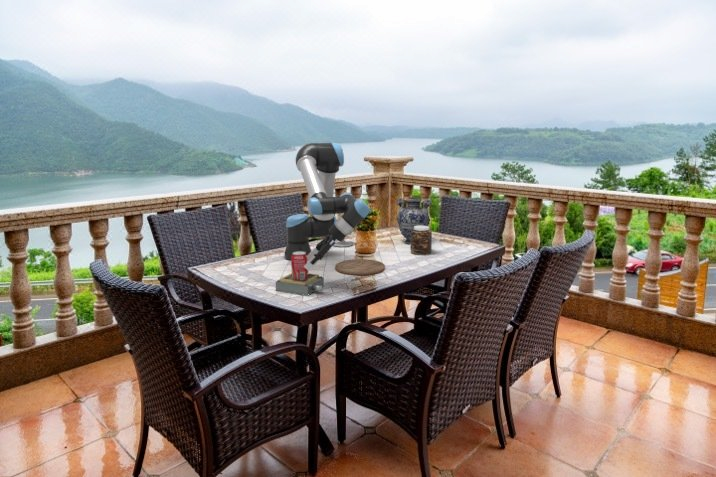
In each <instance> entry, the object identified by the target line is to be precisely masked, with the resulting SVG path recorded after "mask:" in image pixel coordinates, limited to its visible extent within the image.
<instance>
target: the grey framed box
mask: <svg viewBox="0 0 716 477" xmlns="http://www.w3.org/2000/svg"><path fill="white" fill-rule="evenodd" d="M324 279H325V278H324V276H321V275H320V274H316V273H309V272H308V278H307V279H306V280H304V281H295V280H294V279H292V272H291V273H289V274H288V275H285V276H283V277H281V278H280V279H277V281H275V291H277V292H282V291H283V292H284V293H288V292H290V293H289V294H294V293H298V294H297V295H301V294H304V295H303V296H307V295H308V294H310V293H311V294H313V293H314V291H315V292H323V291H324V287H325V280H324ZM312 292H313V293H312ZM311 294H310V295H311ZM308 296H309V295H308Z"/></svg>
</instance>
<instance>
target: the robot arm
mask: <svg viewBox="0 0 716 477" xmlns="http://www.w3.org/2000/svg"><path fill="white" fill-rule="evenodd" d="M343 150H344V149H343V148H342V146H341V144H340V143H338V142H319V143H318V142H309V143H306V144H304V145H303V146H301V148H300V149H299V150H298V151H297V153H296V156H295V165H296V168H297V170H298V171H299V172H300V173H301V176H302V179H303V183H304V185H305V188H306V191H307V193H308V196H309V198H308V199H307V200H308V201H307V211H308V213H298V214H293V215H291V216H288V217H287V219H286V224H285V228H286V247H285V251H284V255H283V256H284V259H285V260H287V261H288V260H289V261H291V257H292V255H293V252H297V251H303V252H306V255H307V259H308V263H307V264H306V265H305V266H304V267H305V268H306V269H307V270H308V272H309V271H310V270H311V269H312V268H314V266H315V265H316V264H317V263H318V262H319V261H322V259H323V258H324V257H325V256H326V254H327V253H328V252H329V251H330V249H332V247H333V246H334V244H335V243H336V240H337V242H341V241H342V240H343V239H344V240H345V239H346V237H347V236H349V235H350V234H351V233H350V231H351V232H352V233H353V232H354V230H355V228H356V227H357V226H358V225H359V224H360V223H362V221H363V220H364V219H365V218H366V217H367V216H368V214H370V213H371V211H372V210H371V207H370V206H369V205H368V204H367V203H366V202H364V200H363V199H361V198H358V199H356V197H355V196H354V195H353V194H351V193H348V192H344V193H342V194H340V196H334V191H335V182H336V174H337V173H338V172H340V167H343V166H344V164H345V156H344V151H343ZM308 214H309V215H311V216H309V215H308ZM337 214H338V215H339V214H340V215H341V214H342V215H341V216H340V217H339V218H337V217H336V215H337ZM336 219H338V220H336ZM353 229H354V230H353ZM349 233H350V234H349ZM346 234H347V236H346ZM322 237H323V239H321V241H319V242H318V243H317V244H316V246H315V247H314V248H311V245H310V242H309V241H310V240H309V239H310V238H322Z"/></svg>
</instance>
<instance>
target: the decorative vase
mask: <svg viewBox="0 0 716 477" xmlns="http://www.w3.org/2000/svg"><path fill="white" fill-rule="evenodd" d="M432 202H433V201H432V199H430V198H425V199H424V200H423V199H421V197H417V196H412V197H411V196H410V197H407V199H403V198H397V200H396V205H397V206H399V208H398V214H397V217H396V222H397V224H398V228H399V232H400V233H401V235H402V236H403V238H404V239H405V240H404V242H403V243H404V244H406V245H411V230H413V229H414V226H419V225H422V226H428V227H429V225H430V222H431V218H430V215H429V212H430V211H429V209H428V207H431V206H432Z"/></svg>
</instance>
